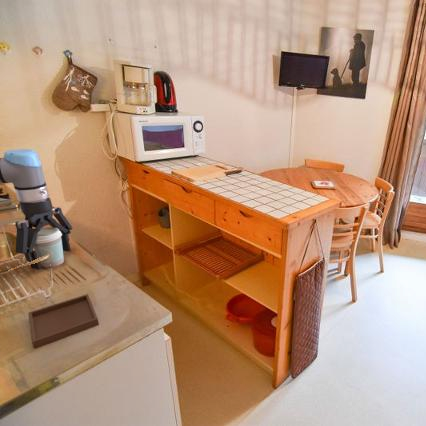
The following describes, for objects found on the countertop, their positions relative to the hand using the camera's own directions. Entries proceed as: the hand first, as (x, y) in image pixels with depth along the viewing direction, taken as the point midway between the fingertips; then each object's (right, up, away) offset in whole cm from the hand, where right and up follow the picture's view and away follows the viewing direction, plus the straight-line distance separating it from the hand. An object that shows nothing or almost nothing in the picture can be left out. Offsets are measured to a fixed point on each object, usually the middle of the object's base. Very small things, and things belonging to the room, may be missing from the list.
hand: (52, 259), depth 108 cm
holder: (+23, -14, -23) cm, 35 cm away
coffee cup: (0, -2, +1) cm, 2 cm away
